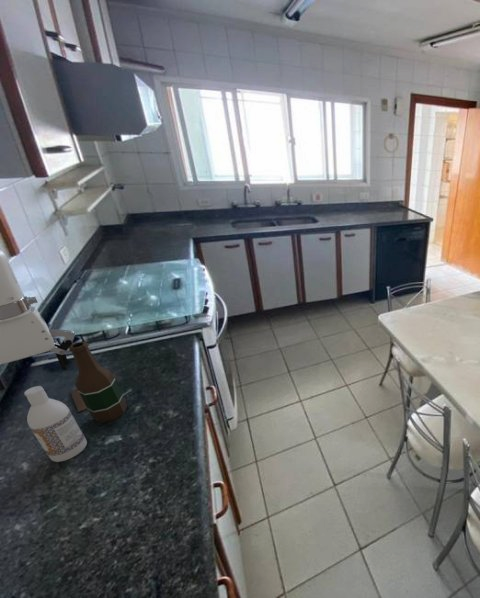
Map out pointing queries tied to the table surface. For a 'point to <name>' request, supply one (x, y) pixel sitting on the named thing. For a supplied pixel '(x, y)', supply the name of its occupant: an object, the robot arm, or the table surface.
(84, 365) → the beer bottle
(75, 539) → the table surface
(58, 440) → the bath foam
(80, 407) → the brown flat square slab
